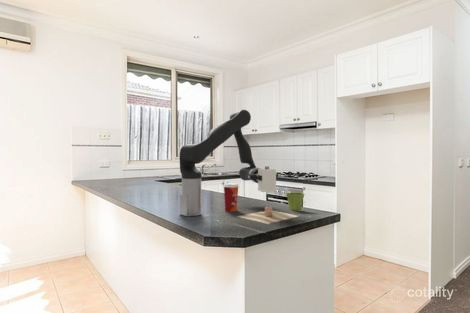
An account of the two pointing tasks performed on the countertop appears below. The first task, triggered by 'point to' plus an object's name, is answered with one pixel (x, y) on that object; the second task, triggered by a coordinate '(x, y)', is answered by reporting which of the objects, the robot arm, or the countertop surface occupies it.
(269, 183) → the white upright block
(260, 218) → the board
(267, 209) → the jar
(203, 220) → the countertop surface
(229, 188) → the paper cup
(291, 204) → the plant pot
